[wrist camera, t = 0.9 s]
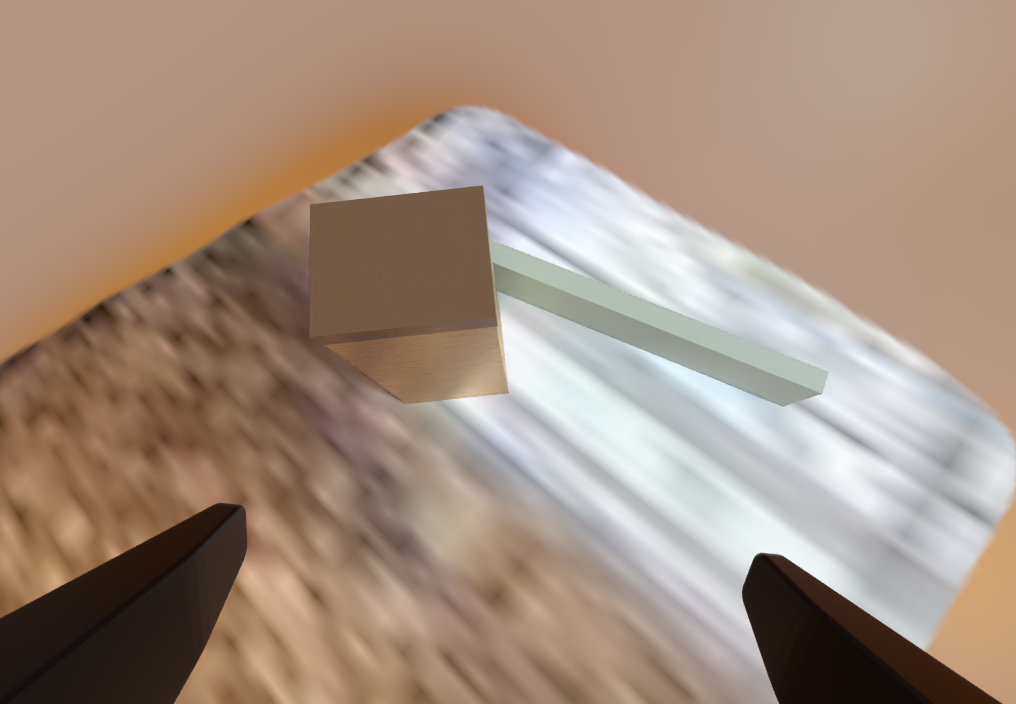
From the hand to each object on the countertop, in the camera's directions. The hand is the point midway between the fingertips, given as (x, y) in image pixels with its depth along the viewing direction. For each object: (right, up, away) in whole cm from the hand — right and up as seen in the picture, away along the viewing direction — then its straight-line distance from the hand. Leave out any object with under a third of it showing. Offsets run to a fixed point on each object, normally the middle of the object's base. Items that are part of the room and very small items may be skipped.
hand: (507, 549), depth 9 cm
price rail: (+5, +5, +16) cm, 18 cm away
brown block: (-3, +3, +16) cm, 17 cm away
